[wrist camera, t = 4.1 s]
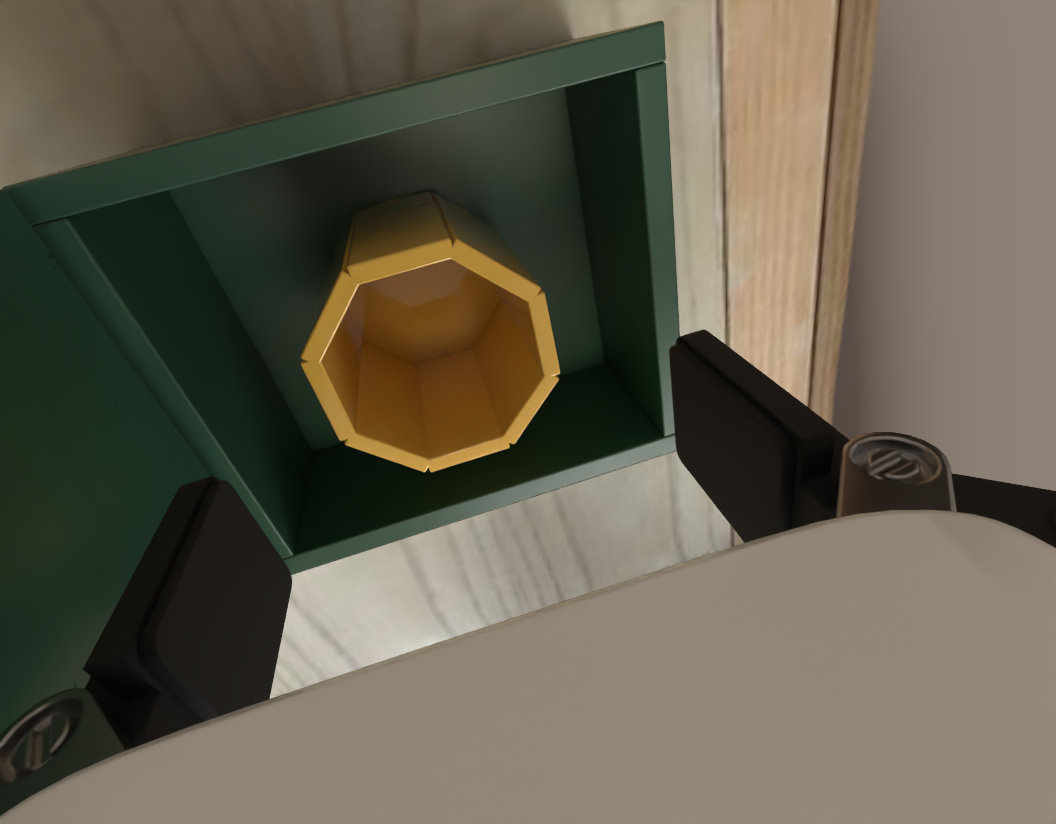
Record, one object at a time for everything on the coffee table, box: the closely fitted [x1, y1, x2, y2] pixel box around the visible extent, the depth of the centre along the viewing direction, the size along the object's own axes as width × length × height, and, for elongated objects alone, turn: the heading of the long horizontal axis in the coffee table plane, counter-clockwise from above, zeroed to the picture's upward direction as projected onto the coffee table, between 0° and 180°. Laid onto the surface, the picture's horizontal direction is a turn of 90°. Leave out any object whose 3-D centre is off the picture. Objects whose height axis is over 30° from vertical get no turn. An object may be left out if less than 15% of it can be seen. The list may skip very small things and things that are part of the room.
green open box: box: [2, 21, 680, 575], centre depth 18 cm, size 15×13×7 cm
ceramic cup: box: [300, 192, 560, 472], centre depth 17 cm, size 6×6×7 cm
